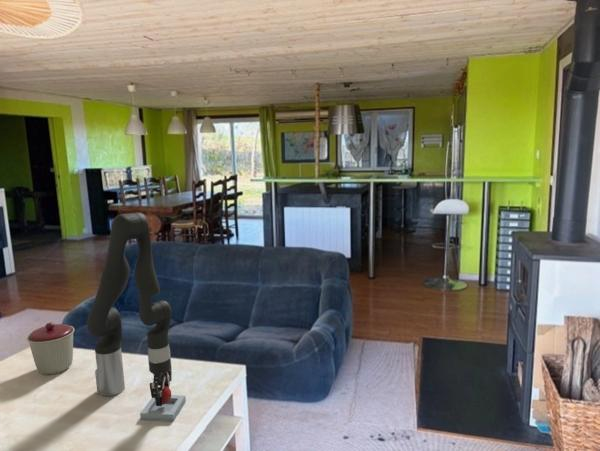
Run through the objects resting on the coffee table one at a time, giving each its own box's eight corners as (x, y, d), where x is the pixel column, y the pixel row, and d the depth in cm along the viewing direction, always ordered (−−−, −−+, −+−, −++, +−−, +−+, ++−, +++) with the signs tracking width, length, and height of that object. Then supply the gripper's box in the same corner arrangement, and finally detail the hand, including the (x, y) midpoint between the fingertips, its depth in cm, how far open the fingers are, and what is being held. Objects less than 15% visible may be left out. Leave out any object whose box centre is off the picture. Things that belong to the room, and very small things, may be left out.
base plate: (140, 419, 159) (140, 413, 158) (154, 400, 170) (154, 394, 170) (173, 421, 157) (173, 414, 157) (185, 401, 169) (185, 395, 169)
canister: (33, 364, 201) (27, 319, 197) (78, 355, 208) (73, 312, 204) (29, 383, 185) (22, 334, 181) (78, 373, 192) (72, 326, 188)
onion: (167, 409, 160) (165, 388, 159) (152, 408, 161) (150, 387, 160) (174, 400, 166) (173, 380, 164) (160, 399, 167) (158, 379, 165)
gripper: (157, 347, 167) (161, 389, 171) (140, 366, 153) (144, 411, 156) (177, 348, 167) (180, 390, 170) (161, 367, 153) (165, 412, 156)
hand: (162, 400), depth 163 cm, fingers closed on onion, 6 cm apart
